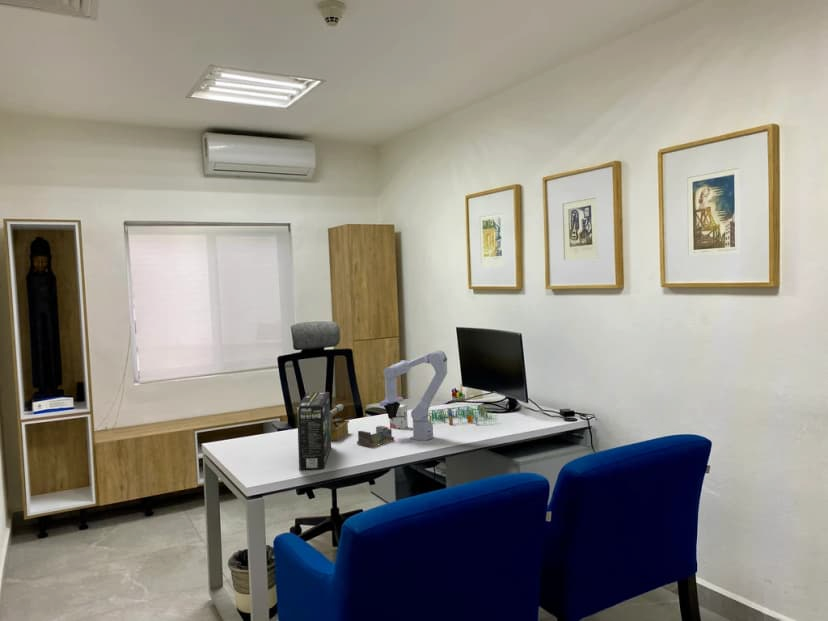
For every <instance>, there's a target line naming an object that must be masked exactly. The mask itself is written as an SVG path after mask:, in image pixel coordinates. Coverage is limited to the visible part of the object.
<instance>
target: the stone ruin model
mask: <svg viewBox="0 0 828 621" xmlns="http://www.w3.org/2000/svg"><path fill="white" fill-rule="evenodd" d="M392 432H393V431H392V428H389V431H388V430H385V431H382V432H378V433H376V432H375V433H371V432H369V431H366V430H365V431H364V430H358V431H357V438H358V440H357V441H356V445H357V444H359V445H358V446H362V445H363V447H366V446H368V448H373V447H375V445H376V446H379V445H378V444H380V445H382V444H381V443H383V444H386V443H389V442H391V440H392V441H395V437H394V436H393V435H392ZM388 441H389V442H388ZM385 442H386V443H385ZM372 446H373V447H372Z"/></svg>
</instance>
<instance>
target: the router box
mask: <svg viewBox="0 0 828 621" xmlns="http://www.w3.org/2000/svg"><path fill="white" fill-rule="evenodd" d="M330 401H331V400H330V392H329V391H317V392H316V391H315V392H311V391H310V392H307V393H306V394H305V395H304V397H303V398H302V399H301V401H300V402H299V403H298V405H297V406H296V414H297V416H296V417H297V418H296V419H297V445H298V446H297V447H298V448H297V449H298V470H316V469H324V468H325V466H326V463H327V460H328V457H329V454H330V451H331V449H332V440H331V430H330V411H331V405H330V404H331V402H330Z"/></svg>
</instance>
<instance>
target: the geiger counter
mask: <svg viewBox="0 0 828 621" xmlns="http://www.w3.org/2000/svg"><path fill="white" fill-rule="evenodd" d="M343 409H344V405H343V404H342V403H339V404H337V405H335V406H334V407H333V408H332V409H330V430H331V441H336V442H337V441H339V440H341V439H342V438H343V437H344V435H345V436H346V435H347V434H349V426H348V424H349V423H350V420H349V419H347V420H346V419H344V418H335V419H333V417H334V416H336V415H337V414H338V413H339V412H341V411H343Z"/></svg>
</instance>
